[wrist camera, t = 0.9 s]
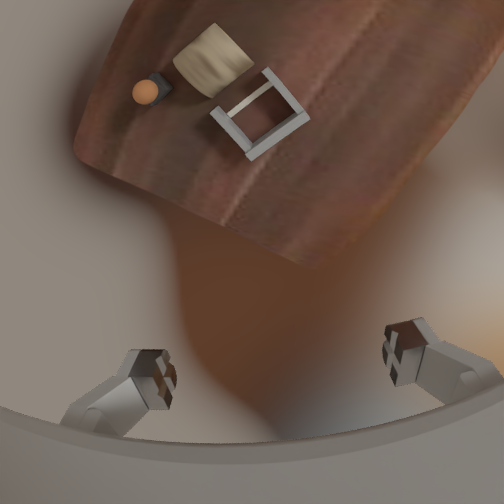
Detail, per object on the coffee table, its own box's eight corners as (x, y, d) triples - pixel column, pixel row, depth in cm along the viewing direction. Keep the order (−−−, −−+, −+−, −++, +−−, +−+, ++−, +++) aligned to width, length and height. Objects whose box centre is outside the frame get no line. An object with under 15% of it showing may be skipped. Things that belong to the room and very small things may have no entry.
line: (269, 80, 42) (269, 80, 42) (273, 84, 43) (273, 84, 43) (226, 113, 46) (226, 113, 46) (230, 117, 46) (230, 118, 46)
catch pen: (268, 66, 41) (267, 67, 38) (307, 114, 45) (310, 118, 42) (213, 110, 46) (208, 114, 43) (252, 153, 50) (251, 161, 47)
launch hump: (220, 25, 41) (209, 19, 33) (257, 64, 46) (253, 64, 38) (183, 57, 45) (164, 58, 37) (218, 94, 49) (207, 101, 41)
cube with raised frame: (158, 72, 42) (149, 73, 39) (173, 87, 44) (166, 90, 40) (142, 88, 44) (133, 91, 40) (157, 103, 45) (149, 107, 42)
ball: (150, 73, 39) (140, 75, 36) (166, 90, 41) (157, 93, 37) (134, 91, 41) (123, 94, 37) (150, 107, 42) (140, 111, 39)
